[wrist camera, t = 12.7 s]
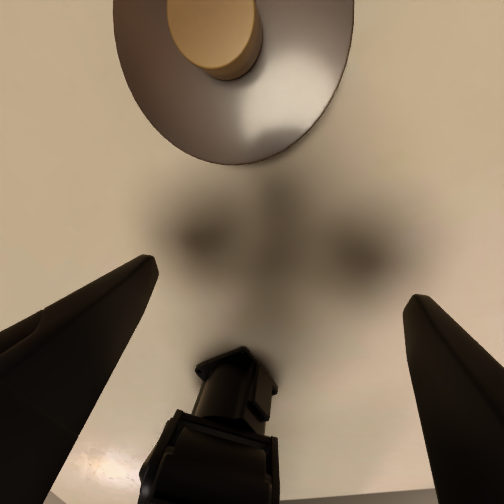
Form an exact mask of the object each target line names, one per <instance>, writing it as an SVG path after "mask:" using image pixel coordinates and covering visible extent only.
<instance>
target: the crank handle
mask: <svg viewBox="0 0 504 504" xmlns="http://www.w3.org/2000/svg"><path fill="white" fill-rule="evenodd" d="M167 20H168V26H169V30H170V33H171V36H172V39H173V41H174V43H175V45H176V46H177V48H178V50H179V51H180V52H181V54H182V55H183V56H184V57H185V58H186V59H187V60H188V61H190V62H191V63H192V64H194V65H195V66H197V67H198V68H200V69H201V70H203V71H204V72H206V73H207V74H209V75H210V76H212V77H214V78H217V79H220V80H232V79H235V78H238V77H240V76H242V75H243V74H245V73H246V72H247V71H248V70H249V69H250V68H251V67H252V65H253V64H254V62H255V61H256V59H257V57H258V54H259V52H260V48H261V44H262V23H261V19H260V15H259V11H258V8H257V4H256V1H255V0H167Z"/></svg>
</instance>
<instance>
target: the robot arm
mask: <svg viewBox="0 0 504 504" xmlns="http://www.w3.org/2000/svg"><path fill="white" fill-rule="evenodd" d="M158 276H159V271H158V268H157V264H156V261H155V258H154V257H153V256H151V255H144V254H143V255H140V256H138V257H136V258H135V259H133V260H131V261H129V262H127V263H125V264H124V265H122V266H120V267H118V268H116V269H115V270H113V271H111V272H109V273H107V274H106V275H104V276H102V277H100V278H98V279H97V280H95V281H93V282H91V283H89V284H87V285H86V286H84V287H82V288H80V289H78V290H77V291H75V292H73V293H71V294H69V295H68V296H66V297H64V298H62V299H60V300H59V301H57V302H55V303H53V304H51V305H49V306H48V307H46V308H44V310H40V311H39V312H37V313H35V314H33V315H31V316H29V317H28V318H26V319H24V320H22V321H20V322H18V323H16V324H14V325H13V326H11V327H9V328H7V329H5V330H3V331H1V332H0V504H43V502H44V500H45V498H46V497H47V494H48V493H49V491H50V489H51V487H52V485H53V483H54V482H55V480H56V478H57V476H58V474H59V472H60V470H61V468H62V466H63V465H64V463H65V461H66V459H67V457H68V455H69V453H70V451H71V450H72V448H73V446H74V444H75V442H76V440H77V438H78V435H79V434H80V432H81V430H82V429H83V427H84V425H85V423H86V421H87V419H88V417H89V415H90V414H91V412H92V410H93V408H94V406H95V404H96V402H97V400H98V398H99V397H100V395H101V393H102V391H103V389H104V387H105V385H106V383H107V382H108V380H109V378H110V376H111V374H112V372H113V370H114V368H115V367H116V365H117V363H118V361H119V359H120V357H121V355H122V353H123V351H124V350H125V348H126V346H127V344H128V342H129V340H130V338H131V336H132V335H133V333H134V331H135V329H136V327H137V325H138V323H139V321H140V320H141V318H142V316H143V314H144V311H145V309H146V307H147V304H148V302H149V299H150V297H151V294H152V292H153V289H154V287H155V284H156V282H157V279H158ZM403 324H404V335H405V345H406V355H407V362H408V367H409V372H410V376H411V381H412V385H413V390H414V394H415V399H416V403H417V408H418V412H419V417H420V421H421V426H422V431H423V435H424V440H425V444H426V449H427V453H428V458H429V462H430V467H431V471H432V476H433V481H434V485H435V490H436V494H437V499H438V503H439V504H504V367H503V366H502V365H501V364H500V363H498V362H497V361H496V360H495V359H494V358H493V357H492V356H491V355H490V354H489V353H488V352H487V351H486V350H485V349H484V348H483V347H482V346H481V345H480V344H479V343H478V342H477V341H475V340H474V339H473V338H472V337H471V336H470V335H469V334H468V333H467V332H466V331H465V330H464V329H463V328H462V327H461V326H460V325H459V324H458V323H457V322H456V321H455V320H454V319H452V318H451V317H450V316H449V315H448V314H447V313H446V312H445V311H444V310H443V309H442V308H441V307H440V306H439V305H438V304H437V303H436V302H435V301H434V300H433V299H432V298H430V297H429V296H427V295H420V294H414V295H413V296H412V297H411V298H410V300H409V302H408V303H407V305H406V307H405V308H404V311H403ZM242 352H243V353H242ZM195 372H196V374H197V375H198V376H199V377H200V378H201V379H202V380H203V383H202V386H201V389H200V392H199V394H198V397H197V400H196V403H195V405H194V408H193V411H192V414H188V413H185V412H183V411H182V410H179V409H177V410H176V412H175V414H174V416H173V418H170V420H168V421H167V423H166V425H165V428H164V430H163V432H162V434H161V437H160V439H159V441H158V442H157V444H156V445H155V447H154V448H153V450H152V451H151V453H150V454H149V456H148V457H147V459H146V460H145V462H144V463H143V465H142V467H141V469H140V472H139V477H140V481H141V488H140V495H139V499H138V504H279V500H280V479H279V457H278V438H277V437H273V436H271V437H269V436H265V435H264V433H265V423H266V421H269V418H270V409H271V397H272V396H273V395H276V394H277V392H278V388H277V386H276V385H275V383H274V382H273V380H272V379H271V377H270V376H269V375H268V374H267V372H266V371H265V370H264V368H263V367H262V366H261V365H260V364H259V363H258V362H257V360H256V359H255V358H254V357H253V355H252V354H251V353H250V352H249V350H248V349H247V348H244V347H242V348H239V349H237V350H234V351H232V352H229V353H227V354H224V355H222V356H219V357H217V358H214V359H212V360H209V361H207V362H204V363H202V364H199V365H197V366H196V368H195Z"/></svg>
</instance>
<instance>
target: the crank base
mask: <svg viewBox="0 0 504 504" xmlns="http://www.w3.org/2000/svg"><path fill="white" fill-rule="evenodd" d="M255 1H256V4H257V8H258V11H259V15H260V19H261V23H262V44H261V48H260V52H259V54H258V57H257V59H256V61H255V62H254V64H253V65H252V67H251V68H250V69H249V70H248V71H247V72H246V73H245V74H243V75H242V76H240V77H238V78H235V79H232V80H220V79H217V78H214V77H212V76H210V75H209V74H207V73H206V72H204V71H203V70H201V69H200V68H198V67H197V66H195V65H194V64H192V63H191V62H190V61H188V60H187V59H186V58H185V57H184V56H183V55H182V54H181V52H180V51H179V50H178V48H177V46H176V45H175V43H174V41H173V39H172V36H171V33H170V30H169V26H168V20H167V0H113V22H114V35H115V41H116V47H117V52H118V56H119V60H120V64H121V68H122V71H123V73H124V76H125V79H126V82H127V84H128V87H129V89H130V91H131V93H132V95H133V97H134V99H135V101H136V102H137V104H138V106H139V107H140V109H141V110H142V112H143V114H144V115H145V116H146V118H147V119H148V120H149V121H150V123H151V124H152V125H153V127H154V128H155V129H156V130H157V131H158V132H159V133H160V134H161V135H162V136H163V137H164V138H166V139H167V140H168V141H169V142H170V143H172V144H173V145H174V146H176V147H177V148H179V149H180V150H182V151H184V152H185V153H187V154H189V155H191V156H193V157H196V158H198V159H201V160H204V161H207V162H210V163H215V164H221V165H244V164H251V163H255V162H259V161H263V160H265V159H268V158H270V157H273V156H275V155H277V154H279V153H280V152H282V151H284V150H286V149H287V148H289V147H290V146H292V145H293V144H294V143H296V142H297V141H298V140H299V139H301V138H302V137H303V136H304V135H305V134H306V133H307V132H308V131H309V130H310V129H311V128H312V127H313V125H314V124H315V123H316V122H317V120H318V119H319V118H320V117H321V116H322V114H323V113H324V111H325V109H326V108H327V106H328V105H329V103H330V101H331V100H332V98H333V96H334V94H335V92H336V90H337V88H338V86H339V83H340V81H341V78H342V75H343V72H344V70H345V67H346V63H347V59H348V55H349V51H350V47H351V41H352V34H353V26H354V0H255Z"/></svg>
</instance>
